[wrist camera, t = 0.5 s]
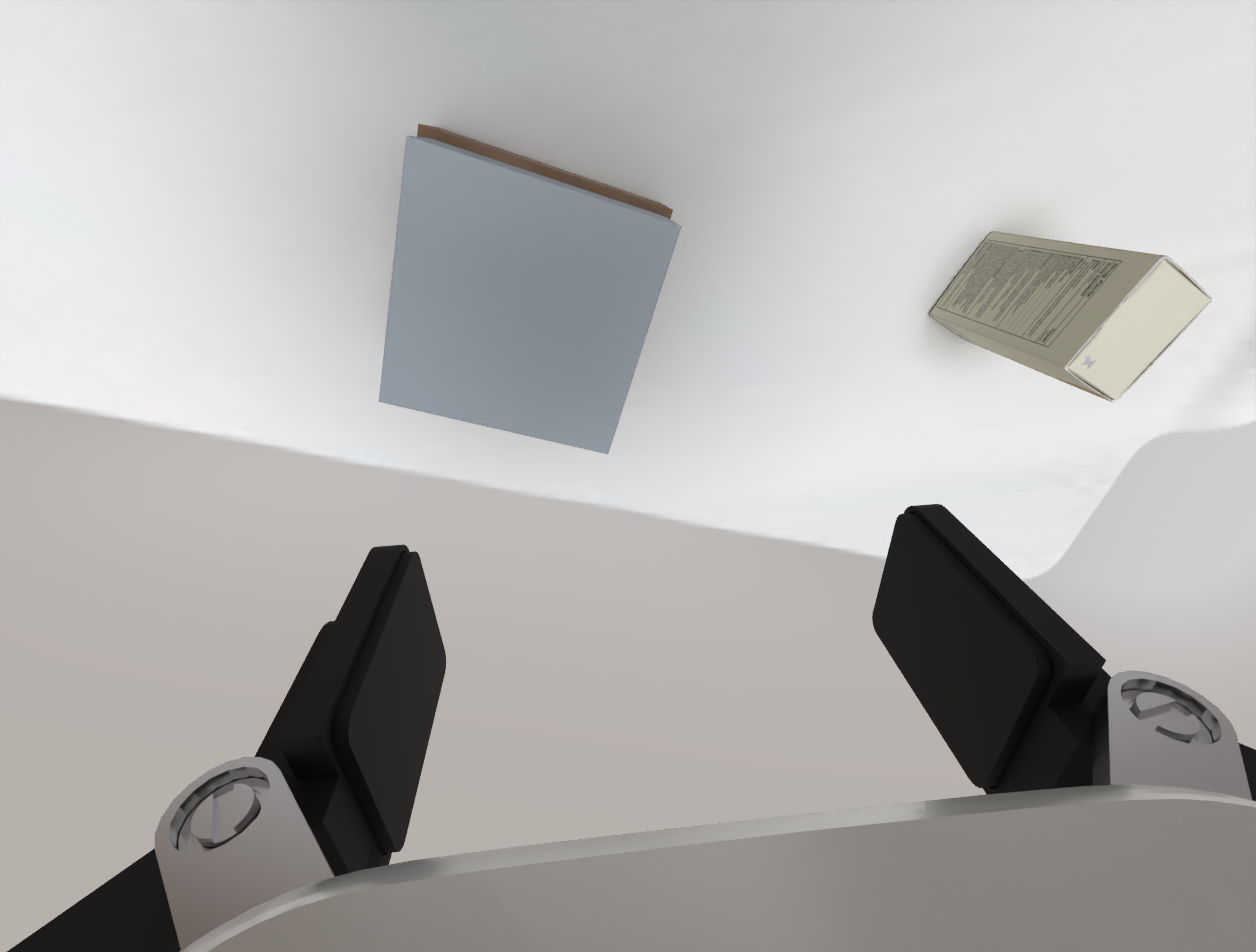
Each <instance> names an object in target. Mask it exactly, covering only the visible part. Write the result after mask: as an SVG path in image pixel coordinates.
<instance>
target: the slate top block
mask: <svg viewBox="0 0 1256 952" xmlns="http://www.w3.org/2000/svg"><path fill="white" fill-rule="evenodd" d="M680 228H681V227H680V226H679V225H677V224H676V223H674V222H673V221H671V220H670V219H668V218H667V217H665V216H663V215H660V214H657V213H654V212H651V211H648V210H645V209H642V208H639V207H636V206H633V205H630V204H627V203H624V202H621V201H618V200H615V199H612V198H609V197H606V196H603V195H600V194H597V193H594V192H591V191H588V190H585V189H582V188H579V187H576V186H573V185H570V184H567V183H564V182H561V181H558V180H555V179H552V178H549V177H546V176H543V175H540V174H537V173H534V172H531V171H528V170H525V169H522V168H519V167H516V166H513V165H510V164H507V163H504V162H501V161H498V160H495V159H492V158H489V157H486V156H483V155H480V154H477V153H474V152H471V151H468V150H465V149H462V148H459V147H456V146H453V145H450V144H447V143H444V142H441V141H438V140H435V139H432V138H423V137H414V136H407V138H406V148H405V157H404V167H403V176H402V186H401V196H400V205H399V215H398V224H397V234H396V243H395V253H394V262H393V272H392V282H391V291H390V301H389V310H388V320H387V329H386V339H385V348H384V358H383V367H382V377H381V387H380V396H379V402H383V403H387V404H391V405H396V406H400V407H404V408H409V409H413V410H418V411H422V412H426V413H431V414H435V415H439V416H444V417H448V418H452V419H457V420H461V421H465V422H470V423H474V424H479V425H483V426H487V427H492V428H496V429H500V430H505V431H509V432H513V433H518V434H522V435H526V436H531V437H535V438H540V439H544V440H548V441H553V442H557V443H561V444H566V445H570V446H574V447H579V448H583V449H587V450H592V451H596V452H601V453H605V454H608V453H609V449H610V446H611V443H612V440H613V437H614V434H615V431H616V428H617V424H618V421H619V418H620V415H621V412H622V409H623V406H624V403H625V400H626V396H627V393H628V390H629V387H630V384H631V381H632V378H633V375H634V372H635V368H636V365H637V362H638V359H639V356H640V353H641V350H642V347H643V344H644V340H645V337H646V334H647V331H648V328H649V325H650V322H651V319H652V316H653V312H654V309H655V306H656V303H657V300H658V297H659V294H660V291H661V287H662V284H663V281H664V278H665V275H666V272H667V269H668V266H669V263H670V259H671V256H672V253H673V250H674V247H675V244H676V241H677V238H678V235H679V231H680Z"/></svg>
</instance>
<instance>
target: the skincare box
mask: <svg viewBox="0 0 1256 952" xmlns="http://www.w3.org/2000/svg"><path fill="white" fill-rule="evenodd" d="M1211 301H1212V297H1211V296H1210V295H1208V294H1207V293H1206V292H1205V291H1204V290H1203V289H1202V287H1201V286H1199V285H1198V284H1197V283H1196V282H1195V281H1194V279H1192V278H1191V277H1190V276H1189V275H1188V274H1187V273H1186V272H1185V271H1184V270H1183V269H1182V268H1181V267H1180V266H1178V265H1177V264H1176V263H1175V262H1174V261H1173V260H1172V259H1171V258H1169V257H1168V256H1164V255H1156V254H1149V253H1142V252H1134V251H1127V250H1121V249H1113V248H1106V247H1099V246H1091V245H1084V244H1078V243H1071V242H1064V241H1057V240H1049V239H1042V238H1035V237H1029V236H1021V235H1014V234H1007V233H1000V232H991V233H990V234H989V235H988V236H987V237H986V239H985V240H984V241H983V242H982V244H981V245H980V246H979V248H978V249H977V250H976V251H975V253H974V254H973V255H972V257H971V258H970V259H969V261H968V262H967V263H966V265H965V266H964V267H963V268H962V270H961V271H960V273H959V274H958V275H957V277H956V278H955V279H954V281H953V282H952V283H951V285H950V286H949V287H948V289H947V290H946V292H945V293H944V294H943V296H942V297H941V298H940V300H939V301H938V303H937V304H936V305H935V307H934V308H933V310H932V311H931V313H930V316H931V317H932V318H934V319H935V320H936V321H938V322H939V323H941V324H942V325H943V326H945V327H946V328H948V329H949V330H951V331H952V332H954V333H955V334H957V335H958V336H960V337H961V338H963V339H965V340H967V341H969V342H971V343H973V344H975V345H978V346H980V347H982V348H985V349H987V350H989V351H992V352H994V353H996V354H999V355H1001V356H1004V357H1006V358H1009V359H1011V360H1013V361H1015V362H1018V363H1020V364H1023V365H1025V366H1027V367H1030V368H1032V369H1034V370H1037V371H1039V372H1041V373H1044V374H1046V375H1048V376H1051V377H1053V378H1056V379H1058V380H1060V381H1063V382H1065V383H1067V384H1070V385H1072V386H1074V387H1077V388H1079V389H1082V390H1084V391H1087V392H1089V393H1091V394H1094V395H1096V396H1099V397H1101V398H1103V399H1106V400H1108V401H1111V402H1116V401H1117V400H1119V399H1120V397H1121V396H1122V395H1123V394H1124V393H1125V392H1127V390H1128V389H1129V388H1130V387H1131V386H1132V385H1133V384H1135V383H1136V381H1137V380H1138V379H1139V378H1140V377H1141V376H1142V375H1143V374H1144V373H1145V372H1146V371H1147V370H1148V369H1149V368H1150V367H1151V366H1152V365H1153V364H1154V363H1155V361H1156V360H1157V359H1158V358H1159V357H1160V356H1161V355H1162V354H1163V353H1164V352H1165V351H1166V350H1167V349H1168V348H1169V347H1170V346H1171V345H1172V344H1173V343H1174V341H1175V340H1176V339H1177V338H1178V337H1179V336H1180V335H1181V334H1182V333H1183V332H1184V331H1185V330H1186V329H1187V328H1188V326H1189V325H1190V324H1191V323H1192V322H1193V321H1194V320H1195V319H1196V318H1197V317H1198V315H1199V314H1200V313H1201V312H1202V311H1203V310H1204V309H1205V308H1206V307H1207V306H1208V305H1209V304H1210V303H1211Z"/></svg>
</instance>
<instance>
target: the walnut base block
mask: <svg viewBox="0 0 1256 952" xmlns="http://www.w3.org/2000/svg"><path fill="white" fill-rule="evenodd" d="M417 137H423V138H432V139H435V140H438V141H441V142H444V143H447V144H450V145H453V146H456V147H459V148H462V149H465V150H468V151H471V152H474V153H477V154H480V155H483V156H486V157H489V158H492V159H495V160H498V161H501V162H504V163H507V164H510V165H513V166H516V167H519V168H522V169H525V170H528V171H531V172H534V173H537V174H540V175H543V176H546V177H549V178H552V179H555V180H558V181H561V182H564V183H567V184H570V185H573V186H576V187H579V188H582V189H585V190H588V191H591V192H594V193H597V194H600V195H603V196H606V197H609V198H612V199H615V200H618V201H621V202H624V203H627V204H630V205H633V206H636V207H639V208H642V209H645V210H648V211H651V212H654V213H657V214H660V215H663V216H665V217H667V218H668V219H670V217H671V214H672V211H673V210H672V209H670V208H668V207H666V206H664V205H663V204H661V203H658V202H655V201H652V200H649V199H646V198H643V197H641V196H638V195H635V194H632V193H629V192H626V191H623V190H620V189H617V188H614V187H611V186H608V185H605V184H602V183H599V182H596V181H594V180H591V179H588V178H585V177H582V176H579V175H576V174H573V173H570V172H567V171H564V170H561V169H558V168H555V167H552V166H549V165H546V164H544V163H541V162H538V161H535V160H532V159H529V158H526V157H523V156H520V155H517V154H514V153H511V152H508V151H505V150H502V149H499V148H496V147H494V146H491V145H488V144H485V143H482V142H479V141H476V140H473V139H470V138H467V137H464V136H461V135H458V134H455V133H452V132H449V131H446V130H444V129H441V128H438V127H432V126H427V125H421V124H418V133H417Z"/></svg>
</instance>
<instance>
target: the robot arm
mask: <svg viewBox="0 0 1256 952" xmlns="http://www.w3.org/2000/svg"><path fill="white" fill-rule="evenodd" d="M872 617H873V618H872V619H873V626H874V629H875V631H876V633H877V635H878V636H879V638H880V639H881V641H882V642H883V644H884V646H885V647H886V649H887V650H888V652H889V654H890V655H891V657H892V658H893V660H894V661H895V663H896V665H897V666H898V668H899V669H900V671H901V673H902V674H903V676H904V677H905V679H906V680H907V682H908V684H909V685H910V687H911V688H912V690H913V691H914V693H915V694H916V696H917V698H918V699H919V701H920V702H921V704H922V706H923V707H924V709H925V710H926V712H927V713H928V715H929V717H930V718H931V720H932V721H933V723H934V724H935V726H936V727H937V729H938V731H939V732H940V734H941V735H942V737H943V739H944V740H945V742H946V743H947V745H948V746H949V748H950V750H951V751H952V752H953V754H954V756H955V757H956V759H957V760H958V762H959V764H960V765H961V767H962V768H963V770H964V771H965V773H966V775H967V776H968V778H969V779H970V780H971V782H972V783H973V784H974V785H975V786H977V787H979V788H983V789H984V791H985V792H986V794H987V795H979V796H969V797H960V798H950V799H941V800H931V801H922V802H912V803H903V804H893V805H883V806H875V807H864V808H855V809H846V810H837V811H827V812H818V813H810V814H800V815H791V816H782V817H772V818H763V819H755V820H745V821H736V822H727V823H719V824H709V825H701V826H691V827H682V828H674V829H665V830H656V831H647V832H639V833H631V834H622V835H613V836H605V837H596V838H587V839H579V840H570V841H561V842H553V843H544V844H536V845H527V846H518V847H511V848H503V849H495V850H488V851H482V852H481V851H480V852H474V853H465V854H458V855H451V856H443V857H436V858H429V859H421V860H413V861H408V862H403V863H397V864H391V865H389V861H390V858H391V854H392V852H399V851H400V850H401V849H402V847H403V845H404V842H405V838H406V834H407V830H408V826H409V822H410V817H411V813H412V809H413V805H414V801H415V796H416V792H417V788H418V784H419V780H420V775H421V771H422V767H423V763H424V759H425V754H426V750H427V745H428V741H429V737H430V733H431V729H432V725H433V721H434V717H435V712H436V708H437V703H438V699H439V696H440V691H441V687H442V683H443V679H444V675H445V669H446V655H445V650H444V646H443V642H442V638H441V635H440V631H439V627H438V624H437V620H436V616H435V612H434V609H433V605H432V602H431V597H430V594H429V590H428V586H427V583H426V579H425V575H424V571H423V568H422V564H421V561H420V557H419V554H418V553H417V552H409V549H408V548H407V546H405V545H394V546H381V547H374V548H372V549H371V550H370V552H369V554H368V556H367V558H366V560H365V562H364V564H363V566H362V568H361V570H360V572H359V574H358V576H357V578H356V580H355V582H354V584H353V586H352V588H351V590H350V592H349V594H348V596H347V598H346V600H345V602H344V604H343V606H342V608H341V610H340V612H339V614H338V616H337V618H336V620H335V621H330V622H328V623H327V624H325V625H324V626H323V627H322V629H321V630H320V632H319V634H318V636H317V638H316V639H315V641H314V643H313V645H312V647H311V649H310V651H309V653H308V655H307V657H306V659H305V661H304V663H303V665H302V667H301V668H300V670H299V672H298V674H297V676H296V678H295V680H294V682H293V684H292V686H291V688H290V690H289V692H288V693H287V695H286V697H285V699H284V701H283V703H282V705H281V707H280V709H279V711H278V713H277V715H276V717H275V718H274V720H273V722H272V724H271V726H270V728H269V730H268V732H267V734H266V736H265V738H264V740H263V742H262V744H261V746H260V747H259V749H258V751H257V753H256V755H255V757H244V758H240V759H236V760H233V761H229V762H226V763H224V764H222V765H220V766H218V767H215V768H214V769H211V770H209V771H207V772H206V773H205V774H203V775H202V776H200V777H199V778H198V779H197V780H195V781H193V782H192V783H191V784H189V785H188V786H187V787H186V788H185V789H184V790H183V791H182V792H181V793H180V794H179V795H178V796H177V797H176V798H175V799H174V800H173V801H172V803H171V804H170V806H169V807H168V809H167V810H166V811H165V813H164V814H163V816H162V817H161V820H160V822H159V825H158V828H157V830H156V833H155V849H153V850H152V851H150V852H149V853H148V854H146V855H145V856H143V857H142V858H140V859H139V860H137V861H136V862H135V863H133V864H132V865H130V866H129V867H128V868H126V869H125V870H123V871H122V872H120V873H119V874H117V875H116V876H115V877H113V878H112V879H110V880H109V881H107V882H106V883H105V884H103V885H102V886H100V887H99V888H98V889H96V890H95V891H93V892H92V893H90V894H89V895H88V896H86V897H85V898H83V899H82V900H80V901H79V902H77V903H76V904H75V905H73V906H72V907H70V908H69V909H67V910H66V911H65V912H63V913H62V914H60V915H59V916H57V917H56V918H55V919H53V920H52V921H50V922H49V923H48V924H46V925H45V926H43V927H42V928H40V929H39V930H37V931H36V932H35V933H33V934H32V935H30V936H29V937H28V938H26V939H25V940H23V941H22V942H20V943H19V944H17V945H16V946H15V947H13V948H12V949H10V950H9V951H7V952H1256V750H1254V749H1252V748H1250V747H1247V746H1244V745H1242V744H1240V743H1238V739H1237V735H1236V732H1235V730H1234V728H1233V726H1232V724H1231V722H1230V721H1229V720H1228V719H1227V718H1226V716H1225V715H1224V714H1223V713H1222V712H1221V711H1220V710H1219V708H1217V707H1216V706H1215V705H1213V704H1212V703H1211V702H1210V701H1209V700H1207V699H1206V698H1205V697H1203V696H1202V695H1200V694H1199V693H1197V692H1195V691H1194V690H1192V689H1190V688H1188V687H1187V686H1185V685H1183V684H1181V683H1178V682H1176V681H1173V680H1171V679H1169V678H1166V677H1163V676H1160V675H1156V674H1152V673H1148V672H1140V671H1126V672H1121V673H1117V674H1116V675H1115V676H1113V677H1112V678H1111V677H1110V676H1109V675H1108V674H1107V673H1106V672H1105V671H1104V670H1103V669H1102V666H1103V665H1104V663H1105V661H1106V660H1105V659H1104V658H1103V657H1102V656H1101V655H1100V654H1099V653H1098V652H1097V651H1096V650H1095V649H1094V648H1093V647H1092V646H1090V645H1089V644H1088V643H1087V642H1086V641H1085V640H1084V639H1083V638H1082V637H1081V636H1080V635H1079V634H1078V633H1077V632H1076V631H1075V630H1074V629H1073V628H1072V627H1070V626H1069V625H1068V624H1067V623H1066V622H1065V621H1064V620H1063V619H1062V618H1061V617H1060V616H1059V615H1058V614H1057V613H1056V612H1055V611H1054V610H1052V609H1051V608H1050V607H1049V606H1048V605H1047V604H1046V603H1045V602H1044V601H1043V600H1042V599H1041V598H1040V597H1039V596H1038V595H1037V594H1036V593H1035V592H1034V591H1033V590H1031V589H1030V588H1029V587H1028V586H1027V585H1026V584H1025V583H1024V582H1023V581H1022V580H1021V579H1020V578H1019V577H1018V576H1017V575H1016V574H1015V573H1014V572H1013V571H1011V570H1010V569H1009V568H1008V567H1007V566H1006V565H1005V564H1004V563H1003V562H1002V561H1001V560H1000V559H999V558H998V557H997V556H996V555H995V554H994V553H993V552H991V551H990V550H989V549H988V548H987V547H986V546H985V545H984V544H983V543H982V542H981V541H980V540H979V539H978V538H977V537H976V536H975V535H974V534H973V533H971V532H970V531H969V530H968V529H967V528H966V527H965V526H964V525H963V524H962V523H961V522H960V521H959V520H958V519H957V518H956V517H955V516H954V515H953V514H951V513H950V512H949V511H948V510H947V509H946V508H945V507H944V506H942V505H939V504H932V505H919V506H910V507H908V508H907V509H906V510H905V512H904V514H901V515H899V516H898V517H897V520H896V523H895V527H894V531H893V535H892V539H891V543H890V547H889V551H888V555H887V559H886V563H885V567H884V571H883V575H882V579H881V583H880V587H879V591H878V595H877V599H876V603H875V607H874V611H873V616H872Z"/></svg>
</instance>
